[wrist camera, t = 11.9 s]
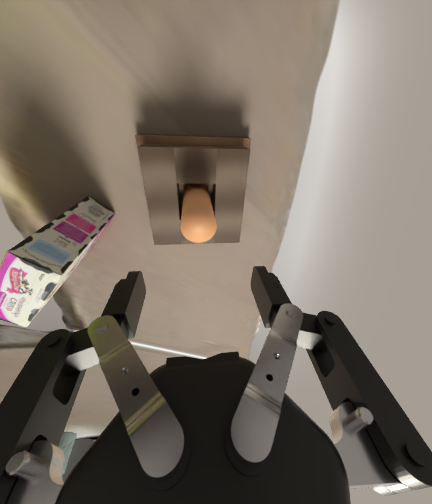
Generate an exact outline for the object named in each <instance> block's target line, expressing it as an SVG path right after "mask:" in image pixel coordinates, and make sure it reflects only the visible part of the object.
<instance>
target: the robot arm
mask: <svg viewBox="0 0 432 504" xmlns="http://www.w3.org/2000/svg"><path fill="white" fill-rule="evenodd" d="M251 290H252V293H253V295H254V298H255V301H256V304H257V307H258V309H259V312H260V315H261V318H262V321H263V323H264V326H265V328H271V330H270V332H269V334H268V336H267V339H266V341H265V344H264V346H263V348H262V351H261V353H260V356H259V358H258V360H257V363H256V364H254V363H253V362H251V361H249V360H247V359H245V358H241V357H239V353H238V352H228V353H220V354H217V355H215V356H212V357H209V358H207V359H197V358H191V357H185V356H184V357H173V358H167V361H166V364H165V365H162V366H160V367H158V368H157V369H155V370H154V371H153V372H152V373H150V374H149V373H148V371H147V370H146V368H145V366H144V365H143V363H142V361H141V360H140V358H139V356H138V355H137V353H136V351H135V350H134V348H133V346H132V344H131V343H130V342H129V341H128V338H134V336H135V333H136V329H137V325H138V321H139V318H140V314H141V310H142V306H143V302H144V299H145V294H146V288H145V283H144V279H143V275H142V272H141V271H132V272H129V273H128V275H127V278H126V279H121V280H120V281H119V282H118V283H117V284H116V285H115V287H114V289H113V292H112V294H111V296H110V298H109V300H108V302H107V304H106V307H105V309H104V311H103V313H102V315H101V317H99V318H97V319H96V320H94V321H93V322H92V323H91V324H90V325H89V327H88V328H86V329H83V330H80V331H77V332H73V333H70V332H69V331H68V330H65V329H59V330H55V331H53V332H51V333H49V334H47V335H46V336H44V337H43V338H42V339H41V340H40V342H39V343H38V344H37V346H36V348H35V349H34V351H33V352H32V354H31V356H30V357H29V359H28V361H27V362H26V364H25V365H24V367H23V369H22V370H21V372H20V373H19V375H18V377H17V378H16V380H15V381H14V383H13V385H12V386H11V388H10V389H9V391H8V393H7V394H6V396H5V397H4V399H3V401H2V402H1V404H0V504H351V503H350V492H349V489H357V488H370V487H372V488H373V489H374V490H375V491H376V492H378V493H380V494H382V495H393V494H398V493H403V492H407V491H412V490H417V489H422V488H427V487H431V486H432V452H431V450H430V449H429V447H428V446H427V444H426V443H425V442H424V440H423V439H422V437H421V436H420V434H419V433H418V431H417V430H416V428H415V427H414V425H413V424H412V423H411V421H410V420H409V418H408V417H407V415H406V414H405V412H404V411H403V410H402V408H401V407H400V405H399V404H398V402H397V401H396V399H395V398H394V396H393V395H392V393H391V392H390V390H389V389H388V388H387V386H386V385H385V383H384V382H383V380H382V379H381V377H380V376H379V374H378V373H377V372H376V370H375V369H374V367H373V366H372V364H371V363H370V361H369V360H368V358H367V357H366V355H365V354H364V352H363V351H362V350H361V348H360V347H359V346H358V344H357V342H356V341H355V339H354V338H353V336H352V335H351V334H350V332H349V331H348V329H347V328H346V326H345V325H344V323H343V322H342V320H341V319H340V318H339V317H338V316H337V315H335V314H333V313H331V312H328V311H322V312H319V313H318V315H317V316H316V315H311V314H306V313H303V312H302V311H301V310H300V309H299V308H298V307H297V306H295V305H293V304H292V303H291V301H290V300H289V298H288V296H287V294H286V292H285V291H284V289H283V288H282V285H281V284H280V281H279V280H278V278H277V277H276V276H275V275H274V274H273V273H268V271H267V270H266V268H265V266H254V268H253V273H252V278H251ZM297 346H298V347H302V348H306V350H307V352H308V355H309V357H310V359H311V361H312V364H313V366H314V368H315V370H316V373H317V375H318V377H319V380H320V382H321V384H322V386H323V389H324V391H325V393H326V395H327V398H328V400H329V402H330V404H331V407H332V409H333V412H332V414H331V416H330V425H331V429H332V433H333V442H332V441H331V439H330V438H329V437H328V436H327V434H326V433H325V432H324V431H323V430H322V429H321V428H320V427H319V426H318V425H317V424H316V423H315V422H314V421H313V420H312V419H311V418H310V417H309V416H308V415H307V414H306V413H304V411H303V410H302V409H301V408H299V406H298V405H297V404H296V403H295V402H294V401H293V400H292V399H291V398H290V397H289V396H287V394H286V393H285V390H286V386H287V382H288V378H289V374H290V370H291V367H292V362H293V359H294V355H295V351H296V347H297ZM96 364H100V366H101V368H102V371H103V373H104V376H105V378H106V380H107V383H108V385H109V387H110V390H111V392H112V395H113V397H114V399H115V402H116V404H117V406H118V409H119V412H118V413H117V415H116V416H115V417H114V418H113V420H112V421H111V422H110V423H109V425H108V426H107V427H106V428H105V430H104V431H103V432H102V433H101V435H100V436H99V437H98V438H97V440H96V441H95V442H94V443H93V445H92V446H91V447H90V448H89V450H88V451H87V452H86V453H85V455H84V456H83V457H82V459H81V460H80V461H79V462H78V463H77V465H76V466H75V467H74V469H73V470H72V471H71V473H70V474H69V476H68V477H67V479H66V481H65V482H64V483H63V479H62V470H63V466H64V459H65V457H64V452H63V450H62V449H61V448H59V447H58V445H59V442H60V440H61V437H62V434H63V432H64V429H65V426H66V423H67V421H68V418H69V415H70V412H71V410H72V407H73V404H74V401H75V399H76V396H77V393H78V391H79V388H80V385H81V382H82V380H83V377H84V374H85V371H86V369H87V368H89V367H91V366H94V365H96Z"/></svg>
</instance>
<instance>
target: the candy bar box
mask: <svg viewBox="0 0 432 504" xmlns="http://www.w3.org/2000/svg"><path fill="white" fill-rule="evenodd" d="M114 215H115V213H114V212H112V211H111V210H109V209H108V208H106V207H104V206H103V205H101V204H100V203H98V202H97V201H96V200H94V199H92V198H91V197H89V196H88V197H86V198H85V199H83V200H82V201H81V202H79V203H78V204H76V205H75V206H73V207H72V208H70V209H69V210H68V211H66V212H64V213H63V214H62V215H60V216H59V217H57V218H56V219H54V220H53V221H51V222H50V223H48V224H47V225H45V226H44V227H42V228H41V229H39V230H38V231H36V232H35V233H34V234H32V235H31V236H29V237H28V238H26V239H25V240H23V241H22V242H20V243H19V244H17V245H16V246H15V247H13V248H12V249H10V250H8V251H7V253H6V255H5V257H4V260H3V261H2V264H1V266H0V320H3V321H7V322H11V323H13V324H17V325H20V326H23V327H27V326H28V325H29V324H30V322H31V321H32V320H33V319H34V317H35V316H36V315H37V314H38V313H39V311H40V310H41V309H42V308H43V306H44V305H45V304H46V303H47V302H48V301H49V299H50V298H51V297H52V296H53V295H54V293H55V292H56V291H57V290H58V289H59V287H60V286H61V285H62V284H63V283H64V281H65V280H66V279H67V278H68V276H69V275H70V274H71V273H72V272H73V270H74V269H75V268H76V267H77V266H78V264H79V263H80V262H81V261H82V259H83V258H84V257H85V256H86V254H87V253H88V252H89V251H90V249H91V248H92V246H93V245H94V244H95V242H96V241H97V239H98V238H99V237H100V235H101V234H102V232H103V231H104V229H105V228H106V226H107V225H108V224H109V222H110V221H111V219H112V218H113V217H114Z"/></svg>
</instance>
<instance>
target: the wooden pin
mask: <svg viewBox="0 0 432 504" xmlns="http://www.w3.org/2000/svg"><path fill="white" fill-rule="evenodd" d="M216 229H217V224H216V220H215V216H214V212H213V208H212V204H211V200H210V196H209V192H208V189H207V187H206V186H205V185H204V184H203V183H189V184H188V185H187V186H186V188H185V190H184V197H183V207H182V216H181V232H182V234H183V236H184V237H185V238H186V239H188V240H189V241H191V242H195V243H202V242H206V241H208V240H210V239H211V238H212V237H213V236H214V234H215V232H216Z"/></svg>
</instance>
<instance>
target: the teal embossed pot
mask: <svg viewBox="0 0 432 504" xmlns="http://www.w3.org/2000/svg"><path fill="white" fill-rule="evenodd" d="M75 438H76V434H75V433H72V432H63V434H62V437H61V440H60V442H59V445H58V447H59V448H61V449H62V450H63V452H64V457H65V459H64V466H63V470H62V474H64V472H65V469H66V466H67V463H68V459H69V455H70V454H71V450H72V446H73V444H74V441H75Z"/></svg>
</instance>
